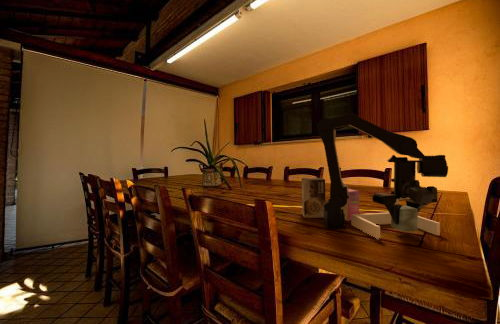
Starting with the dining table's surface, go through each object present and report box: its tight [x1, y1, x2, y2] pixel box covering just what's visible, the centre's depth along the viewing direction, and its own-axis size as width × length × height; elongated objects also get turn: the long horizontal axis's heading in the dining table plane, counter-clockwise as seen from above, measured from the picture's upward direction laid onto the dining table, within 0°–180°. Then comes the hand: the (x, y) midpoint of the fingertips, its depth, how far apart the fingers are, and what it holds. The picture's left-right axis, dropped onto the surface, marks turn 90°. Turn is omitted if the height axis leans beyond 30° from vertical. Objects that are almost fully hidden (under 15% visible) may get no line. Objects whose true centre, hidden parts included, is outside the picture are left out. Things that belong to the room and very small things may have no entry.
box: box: [341, 188, 360, 222], centre depth 94 cm, size 10×6×12 cm, turn 17°
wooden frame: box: [350, 211, 441, 240], centre depth 78 cm, size 22×14×4 cm, turn 97°
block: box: [390, 204, 419, 233], centre depth 73 cm, size 5×5×7 cm
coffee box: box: [301, 177, 326, 219], centre depth 96 cm, size 9×6×16 cm
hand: (403, 223), depth 73 cm, fingers closed on block, 5 cm apart
